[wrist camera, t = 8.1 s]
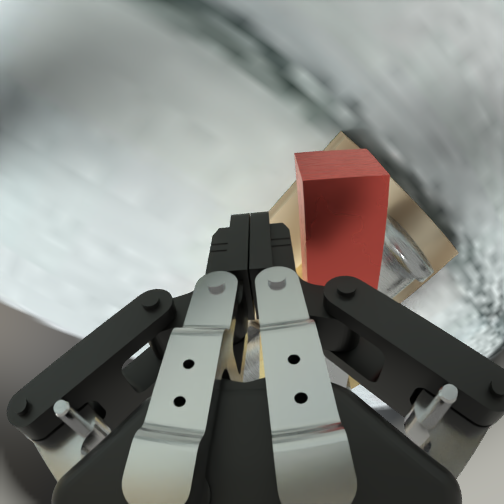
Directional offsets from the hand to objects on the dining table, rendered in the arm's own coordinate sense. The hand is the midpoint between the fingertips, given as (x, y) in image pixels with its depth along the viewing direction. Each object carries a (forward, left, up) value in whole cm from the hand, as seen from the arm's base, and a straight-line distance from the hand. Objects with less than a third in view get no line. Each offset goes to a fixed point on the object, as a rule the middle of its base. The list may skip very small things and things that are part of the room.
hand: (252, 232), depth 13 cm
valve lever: (+6, -2, -1) cm, 7 cm away
